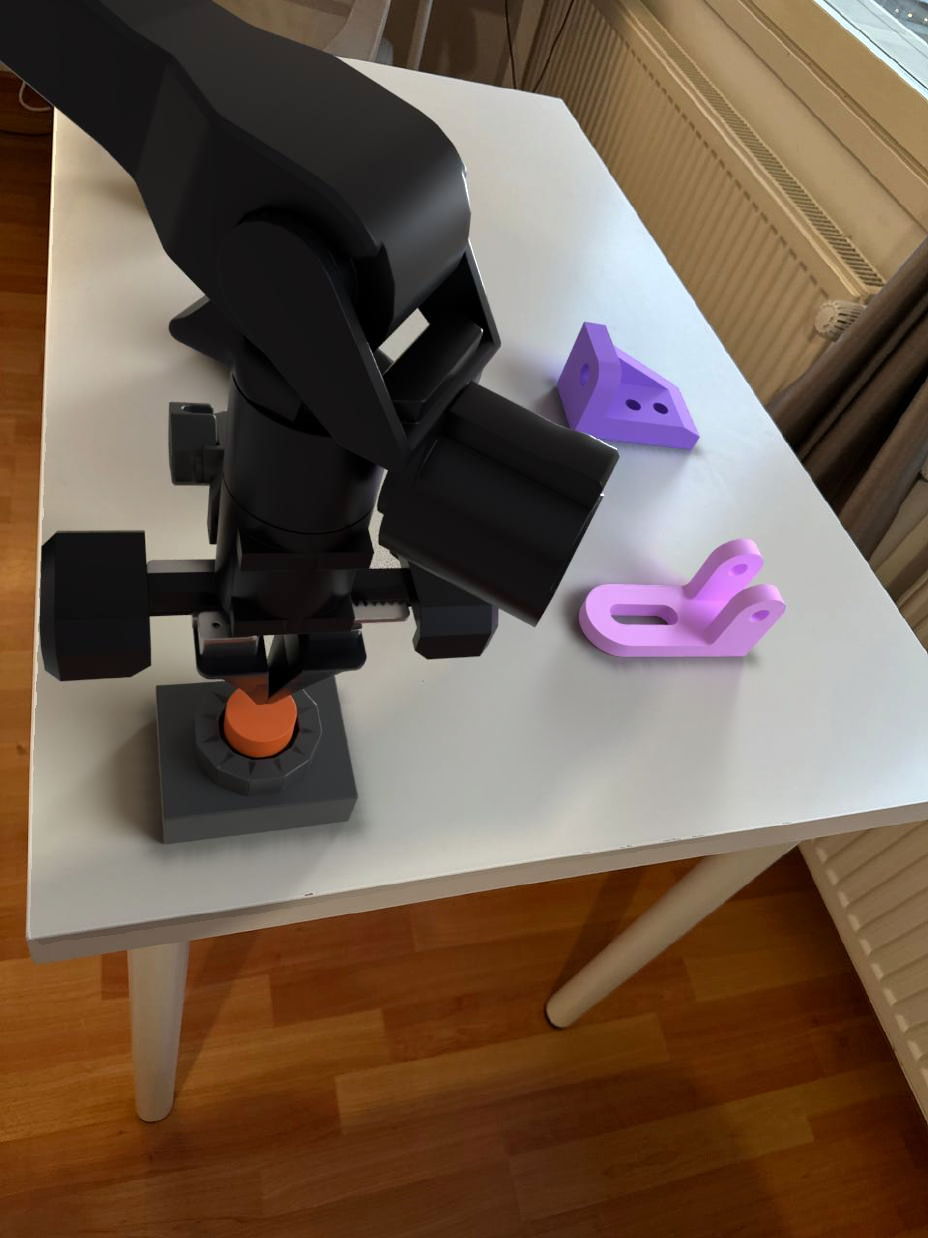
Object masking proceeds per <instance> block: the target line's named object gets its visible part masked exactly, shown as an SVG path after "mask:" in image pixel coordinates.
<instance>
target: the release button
mask: <svg viewBox="0 0 928 1238" xmlns="http://www.w3.org/2000/svg"><path fill="white" fill-rule="evenodd" d="M296 715H297V711H296V705H295V703H294V700H293V699H292V697H291V696H290V695H289V696H287V697H285V698H283V699H281V700H279V701H278V702H276V703H274V704H264V705H256V704H255V703H254V701H253V700H252V699H251V698H250V697H249V696H248V695H247V694H246V693H245V692H244V691H242V690H241V689H239V688H238V689H237V690H236V691H235V692H234V693H233V694H232V695H231V696H230V698H229V700H228V702H227V705H226V712H225V720H224V733H225V736H226V739H227V740H228V742H229V743H230V745H231V746H232V747H233V748H234V749H235V750H237V751H238V752H240V753H242V754H244V755H247V756H251V757H267V756H271V755H274V754H276V753H278V752H279V751H281V750H282V749H283V748H284V747H285V746H286V745H287V744H288V743H289V741H290V739H291V737H292V733H293V729H294V725H295V720H296Z"/></svg>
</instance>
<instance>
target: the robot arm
mask: <svg viewBox="0 0 928 1238" xmlns="http://www.w3.org/2000/svg"><path fill="white" fill-rule="evenodd" d="M0 63H1V64H2V65H3V66H4V67H6V69H8V70H9V71H11V72H12V73H13V74H14V75H16V77H18V78H19V79H20V80H21V81H23V82H24V83H25V84H26V85H28V86H29V87H30V88H31V89H32V90H34V91H35V93H37V94H38V95H39V96H41V97H42V98H43V99H44V100H45V101H47V102H48V103H49V104H50V105H51V106H53V107H54V108H55V109H56V110H57V111H59V112H60V113H61V114H62V115H64V116H65V117H66V118H67V119H68V120H69V121H70V122H71V123H73V124H74V125H76V126H77V127H78V128H79V129H80V130H82V132H84V133H85V134H86V135H88V136H89V137H90V138H91V139H92V140H93V141H94V142H96V143H97V144H98V145H99V146H100V147H102V148H103V149H104V150H105V151H106V152H107V153H108V154H109V155H110V157H112V159H114V161H115V162H116V163H117V164H118V165H119V166H120V167H121V168H122V169H123V171H125V172H126V173H127V174H128V175H129V176H130V178H132V180H133V181H134V183H135V185H136V187H137V190H138V192H139V194H140V197H141V199H142V202H143V204H144V206H145V208H146V212H147V213H148V216H149V218H150V220H151V223H152V225H153V227H154V230H155V232H156V236H157V237H158V239H159V242H160V244H161V247H162V249H163V250H164V252H165V254H166V255H167V257H168V258H169V259H170V260H171V261H172V262H173V263H174V264H175V266H177V267H178V269H179V270H180V271H181V272H183V274H184V275H185V276H186V277H187V278H188V279H189V280H190V281H191V282H192V283H193V284H194V285H195V286H196V287H197V288H198V289H199V290H200V291H201V292H202V293H203V294H204V295H202V297H200V298H198V299H197V300H196V301H195V302H193V303H192V304H190V305H189V306H188V307H186V308H185V309H183V310H182V311H181V312H179V313H178V314H177V315H175V316H174V317H172V318H171V319H170V321H169V322H168V327H167V328H168V332H169V334H170V336H171V337H172V338H173V339H174V340H175V341H177V342H178V343H180V344H183V345H184V346H185V347H188V348H191V349H192V350H194V351H195V352H198V353H200V354H202V355H204V356H205V357H207V358H209V359H211V360H213V361H215V362H217V363H219V364H221V365H223V366H224V367H225V368H227V369H228V370H229V371H230V372H229V373H230V374H229V386H228V399H227V410H224V411H218V412H215V411H214V410H215V409H214V406H213V405H212V404H211V403H208V402H207V403H206V402H187V401H186V402H185V401H169V402H168V420H167V421H168V422H167V423H168V424H167V428H168V429H167V431H168V432H167V434H168V435H167V438H168V440H167V441H168V442H167V443H168V445H167V446H168V465H169V472H170V474H169V475H170V481H171V484H172V485H173V486H179V487H180V486H181V487H182V486H183V487H184V486H187V487H208V500H207V502H208V503H207V517H206V526H207V528H206V529H207V537H208V544H209V546H210V545H211V546H212V545H213V546H214V545H215V546H216V548H215V558H202V559H200V558H197V559H195V558H192V559H152V560H149V561H147V560H148V559H147V546H146V545H147V544H146V532H145V529H144V530H143V529H137V530H136V529H134V530H133V529H131V530H130V529H126V530H125V529H124V530H123V529H121V530H120V529H118V530H117V529H115V530H114V529H110V530H109V529H108V530H105V529H104V530H102V529H101V530H99V529H97V530H95V529H94V530H88V529H87V530H78V529H77V530H56V531H55V532H54V533H53V534H52V535H51V536H50V537H49V538H48V539H47V540H46V541H45V542H44V543H43V544H42V545H41V546H40V581H39V582H40V586H39V621H38V623H39V641H40V644H39V645H40V651H41V657H42V661H43V662H42V664H43V668H44V671H46V673H47V674H49V675H50V676H52V677H53V678H55V679H56V680H58V681H59V682H78V681H91V680H92V681H93V680H109V679H110V680H111V679H125V678H126V679H128V678H132V677H134V676H136V675H138V674H140V673H141V672H143V671H144V670H146V669H148V668H150V667H151V666H152V638H151V637H152V636H151V617H178V616H179V617H180V616H190V621H191V622H190V623H191V629H192V636H193V637H192V639H193V649H194V657H195V670H196V672H197V674H198V676H200V677H201V678H203V679H205V680H211V681H212V680H214V681H215V680H221V681H226V682H228V683H230V684H232V685H234V686H236V687H237V688H239V689H241V690H242V691H244V692H245V693H246V694H247V695H248V696H249V697H250V698H251V699H252V700H253V701H254V703H255V704H256V705H264V704H274V703H276V702H278V701H279V700H281V699H283V698H285V697H287V696H289V695H291V694H293V693H295V692H297V691H299V690H301V689H304V688H306V687H308V686H310V685H312V684H315V683H317V682H320V681H322V680H325V679H327V678H330V677H332V676H335V677H336V676H337V675H339V674H340V675H341V674H342V673H345V672H354V671H359V670H361V669H362V668H363V667H364V666H365V664H366V662H367V659H368V658H367V657H368V654H367V650H366V645H365V641H364V636H363V631H362V629H363V624H380V623H381V624H382V623H404V622H407V621H408V620H409V619H410V616H411V612H412V615H413V618H414V622H415V627H416V629H415V631H414V634H413V637H412V639H411V642H412V646H413V649H414V652H416V653H417V654H418V655H420V656H421V657H423V658H424V659H426V660H427V661H428V660H429V661H430V660H446V659H460V658H461V659H463V658H476V657H477V658H478V657H481V656H482V655H483V653H484V652H485V651H486V650H487V648H488V647H489V645H490V643H491V642H492V639H493V637H494V635H495V634H496V632H497V629H498V628H499V615H500V614H499V613H500V612H499V610H501V611H502V612H504V613H506V614H508V615H510V616H512V617H514V618H516V619H518V620H519V621H522V622H523V623H525V624H527V625H530V626H531V627H533V628H536V627H537V626H538V624H539V622H540V620H541V619H542V617H543V616H544V614H545V613H546V611H547V609H548V607H549V605H550V603H551V602H552V600H553V598H554V596H555V594H556V592H557V591H558V588H559V587H560V585H561V583H562V580H563V578H564V576H565V575H566V572H567V570H568V569H569V566H570V565H571V562H572V561H573V559H574V557H575V554H576V552H577V551H578V549H579V546H580V544H581V543H582V541H583V539H584V537H585V534H586V532H587V531H588V529H589V527H590V524H591V523H592V520H593V519H594V516H595V515H596V513H597V510H598V509H599V507H600V505H601V502H602V500H603V498H604V497H605V495H604V493H603V491H604V490H605V488H606V485H607V484H608V482H609V480H610V477H611V475H612V473H613V471H614V470H615V468H616V467H617V464H618V462H619V460H620V458H621V456H620V453H619V451H618V449H617V448H616V447H614V446H612V445H609V444H608V443H606V442H604V441H602V440H601V439H596V438H594V437H592V436H590V435H588V434H586V433H583V432H580V431H576V430H573V429H570V427H565V426H562V425H560V424H557V423H556V422H553V421H551V420H549V419H548V418H546V417H543V416H542V415H540V414H538V413H536V412H534V411H532V410H530V409H528V408H527V407H524V406H522V405H521V404H518V403H516V402H515V401H513V400H511V399H508V398H506V397H504V396H503V395H501V394H499V393H497V392H495V391H493V390H492V389H490V388H487V387H485V386H483V385H481V384H480V381H481V377H482V375H483V373H484V369H485V368H486V366H487V365H488V364H489V363H490V362H491V360H493V357H494V356H495V355H496V354H497V353H498V351H499V350H500V349H501V347H502V341H501V340H502V339H501V336H500V333H499V330H498V327H497V324H496V320H495V317H494V315H493V312H492V308H491V304H490V302H489V298H488V295H487V292H486V289H485V285H484V283H483V279H482V275H481V273H480V272H481V271H480V269H479V266H478V263H477V260H476V257H475V254H474V250H473V248H472V243H471V241H470V228H471V221H472V220H471V219H472V210H471V203H470V199H469V192H468V188H467V181H466V179H467V173H468V172H467V167H466V165H465V163H464V161H463V159H462V157H461V156H460V153H459V151H458V150H457V148H456V146H455V144H454V143H453V141H452V140H451V139H450V138H449V137H448V135H447V134H446V133H445V132H444V130H443V129H442V128H441V127H440V126H439V125H438V124H437V123H436V122H435V121H434V120H433V119H432V118H430V117H429V116H428V115H426V113H424V112H423V111H421V110H420V109H419V108H417V107H415V106H414V105H413V104H411V103H409V102H407V100H405V99H403V98H401V97H400V96H398V95H396V93H394V92H392V91H390V90H389V89H388V88H386V87H385V86H383V85H381V84H379V83H378V82H376V81H375V80H373V79H372V78H370V77H368V76H367V75H366V74H364V73H363V72H361V71H360V70H358V69H356V68H355V67H353V66H352V65H350V64H348V63H347V62H346V61H344V60H342V59H341V58H339V57H337V56H336V55H333V53H329V52H327V51H324V50H321V49H318V48H315V47H313V46H310V45H307V44H304V43H301V42H299V41H297V40H294V39H291V38H288V37H285V36H283V35H280V34H277V33H274V32H272V31H268V30H266V29H263V28H260V27H257V26H255V25H253V24H250V23H249V22H247V21H245V20H244V19H242V18H240V17H239V16H238V15H235V14H234V13H233V12H231V11H229V10H228V9H226V8H225V7H223V6H222V5H220V4H218V3H217V2H216V1H214V0H0ZM417 309H418V311H419V312H420V314H421V315H422V317H423V318H424V319H425V321H426V322H427V323H428V324H427V326H426V327H424V329H423V330H422V331H420V333H419V334H418V335H417V336H416V337H415V339H414V340H413V341H411V343H410V344H409V345H407V347H406V348H404V350H403V352H402V353H400V355H398V357H396V359H395V360H393V361H394V362H393V363H391V362H390V361H389V360H388V359H387V358H386V357H385V355H383V354H382V353H381V352H380V351H378V350H377V349H378V348H379V349H380V347H381V346H382V345H383V344H384V343H386V341H387V340H388V339H389V338H390V337H391V336H392V335H393V334H394V333H395V332H396V331H397V330H398V329H399V328H400V327H401V326H402V325H403V324H404V323H405V322H406V321H407V319H409V318H410V316H411V315H413V313H414V312H415V311H416V310H417ZM385 470H386V474H385V477H384V479H383V476H384V473H385ZM382 479H383V482H382ZM375 507H376V511H377V512H378V513H379V514H381V515H382V518H381V521H380V526H379V530H378V534H377V539H378V540H377V543H378V545H379V546H380V547H382V548H384V549H386V550H388V551H389V554H390V555H391V556H392V557H394V558H395V559H396V560H397V561H398V562H399V566H400V567H379V568H375V567H374V568H373V567H372V568H371V565H372V562H373V558H374V555H375V549H374V545H373V542H372V537H371V533H370V529H369V528H370V524H371V521H372V517H373V514H374V510H375ZM410 609H411V611H410ZM265 636H273V638H272V642H271V644H270V647H269V651H268V655H267V649H266V643H265Z"/></svg>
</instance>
